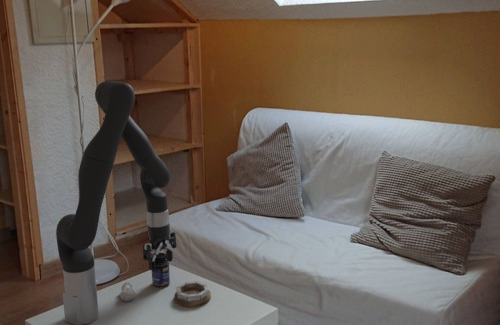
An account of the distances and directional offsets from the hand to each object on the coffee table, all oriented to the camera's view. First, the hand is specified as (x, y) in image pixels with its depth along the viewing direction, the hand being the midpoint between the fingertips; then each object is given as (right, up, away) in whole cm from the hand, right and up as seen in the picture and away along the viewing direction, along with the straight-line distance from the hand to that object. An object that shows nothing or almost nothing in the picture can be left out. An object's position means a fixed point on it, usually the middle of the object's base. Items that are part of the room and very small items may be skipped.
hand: (161, 265), depth 185 cm
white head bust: (-10, -9, -7) cm, 15 cm away
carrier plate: (+12, -9, -9) cm, 17 cm away
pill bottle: (0, -7, +2) cm, 7 cm away
